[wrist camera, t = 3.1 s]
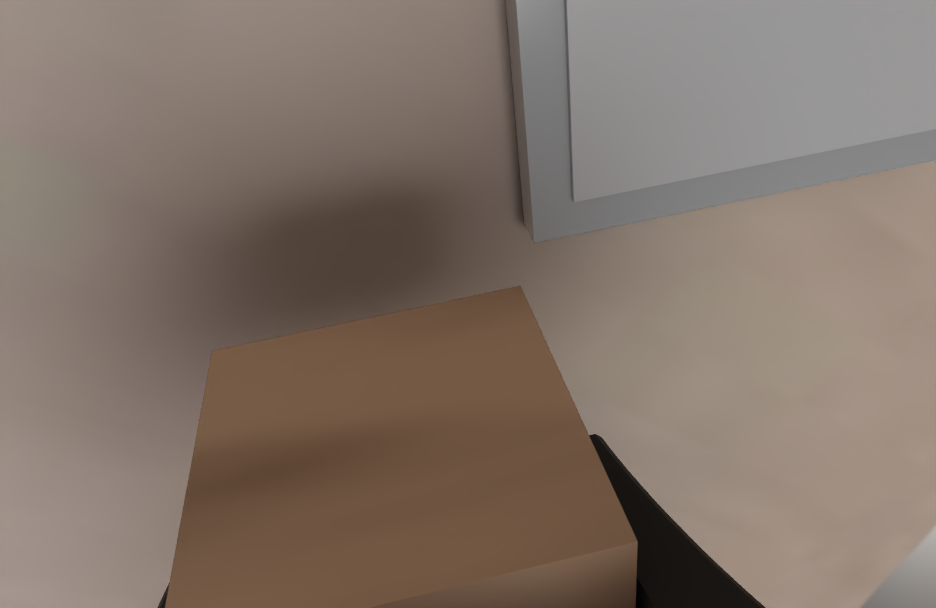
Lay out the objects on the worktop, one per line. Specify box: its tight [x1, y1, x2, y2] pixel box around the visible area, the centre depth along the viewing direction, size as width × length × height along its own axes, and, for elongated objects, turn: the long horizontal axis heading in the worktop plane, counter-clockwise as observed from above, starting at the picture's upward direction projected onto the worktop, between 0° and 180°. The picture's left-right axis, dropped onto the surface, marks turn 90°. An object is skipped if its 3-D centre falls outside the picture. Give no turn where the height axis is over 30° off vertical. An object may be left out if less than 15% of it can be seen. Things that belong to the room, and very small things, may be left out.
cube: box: [165, 286, 638, 608], centre depth 11 cm, size 5×5×5 cm
